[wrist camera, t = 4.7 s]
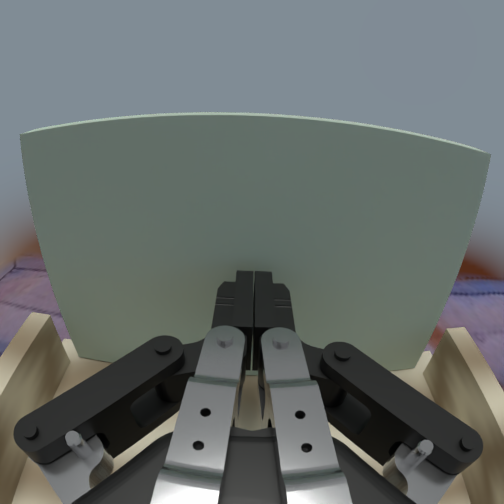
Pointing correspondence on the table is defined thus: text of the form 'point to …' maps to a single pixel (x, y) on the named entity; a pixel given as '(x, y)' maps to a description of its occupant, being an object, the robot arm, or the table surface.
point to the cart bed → (247, 408)
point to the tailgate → (250, 225)
